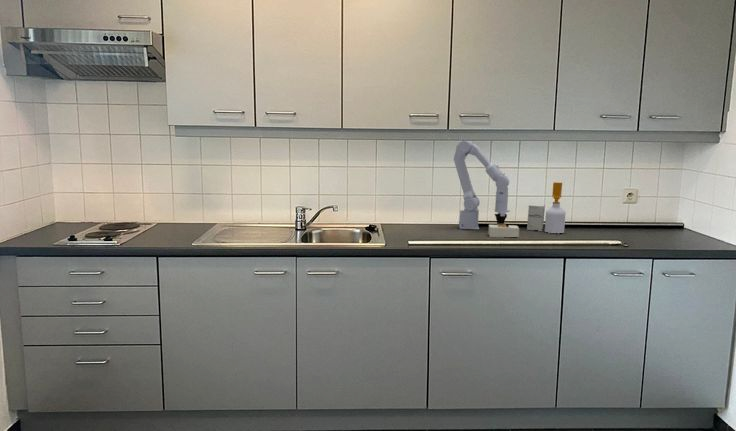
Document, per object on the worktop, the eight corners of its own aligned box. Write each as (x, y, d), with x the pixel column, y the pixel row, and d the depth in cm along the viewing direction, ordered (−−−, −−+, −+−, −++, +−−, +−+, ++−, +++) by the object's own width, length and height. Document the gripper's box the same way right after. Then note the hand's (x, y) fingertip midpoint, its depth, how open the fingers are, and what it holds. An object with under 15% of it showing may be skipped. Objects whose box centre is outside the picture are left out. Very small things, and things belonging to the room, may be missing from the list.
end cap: (489, 236, 254) (490, 227, 253) (488, 233, 261) (488, 224, 261) (518, 238, 253) (519, 228, 252) (516, 235, 260) (516, 225, 259)
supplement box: (526, 230, 273) (528, 205, 271) (528, 227, 279) (530, 203, 277) (542, 231, 270) (543, 206, 268) (543, 229, 277) (545, 204, 275)
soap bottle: (544, 233, 265) (547, 182, 261) (544, 230, 273) (548, 180, 270) (564, 234, 262) (568, 183, 258) (563, 231, 271) (567, 181, 267)
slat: (499, 235, 257) (500, 227, 256) (496, 231, 269) (497, 223, 268) (507, 236, 257) (507, 227, 256) (503, 231, 268) (504, 223, 268)
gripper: (512, 203, 260) (510, 231, 262) (507, 199, 274) (506, 226, 277) (496, 202, 261) (495, 231, 263) (493, 199, 275) (492, 225, 277)
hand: (500, 228), depth 270 cm, fingers closed
